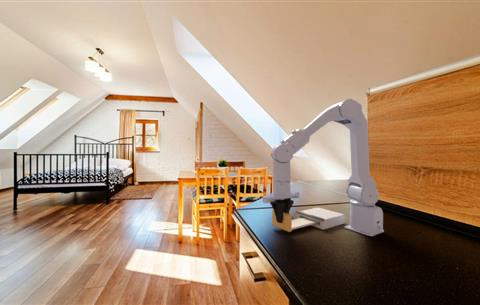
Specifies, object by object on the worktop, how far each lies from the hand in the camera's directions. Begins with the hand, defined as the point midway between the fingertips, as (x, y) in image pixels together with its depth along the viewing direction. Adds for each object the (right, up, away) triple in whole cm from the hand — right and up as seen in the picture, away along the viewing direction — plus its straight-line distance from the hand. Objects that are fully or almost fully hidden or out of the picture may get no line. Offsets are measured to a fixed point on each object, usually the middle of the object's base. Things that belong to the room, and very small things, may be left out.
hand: (281, 221), depth 78 cm
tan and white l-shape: (+7, -2, +4) cm, 8 cm away
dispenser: (+16, -3, +10) cm, 20 cm away
